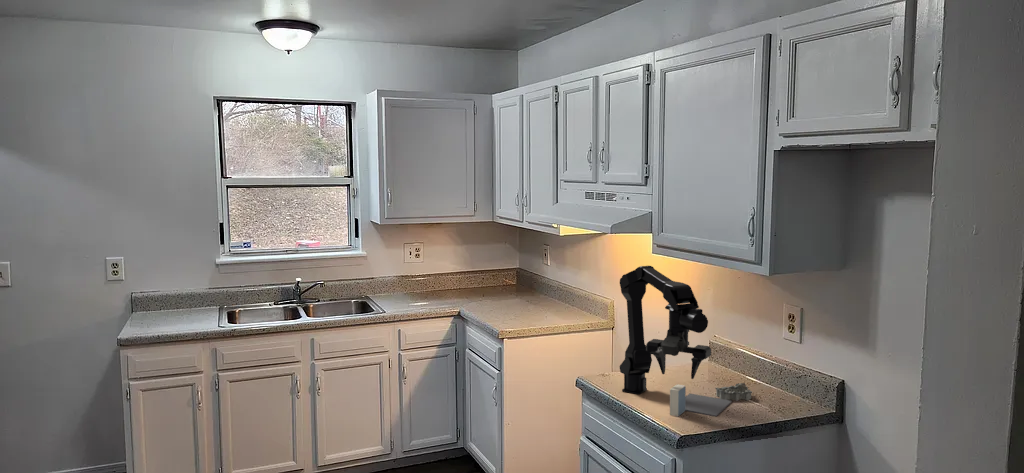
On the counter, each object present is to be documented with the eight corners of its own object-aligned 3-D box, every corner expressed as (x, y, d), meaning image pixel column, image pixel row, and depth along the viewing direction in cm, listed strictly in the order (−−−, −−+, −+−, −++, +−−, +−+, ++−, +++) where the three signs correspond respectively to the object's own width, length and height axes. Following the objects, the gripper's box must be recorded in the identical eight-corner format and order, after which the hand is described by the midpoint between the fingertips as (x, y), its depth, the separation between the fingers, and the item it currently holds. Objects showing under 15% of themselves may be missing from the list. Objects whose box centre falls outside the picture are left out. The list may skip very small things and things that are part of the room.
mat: (671, 408, 221) (671, 407, 221) (689, 394, 234) (689, 393, 234) (716, 416, 213) (716, 415, 213) (732, 401, 226) (732, 400, 226)
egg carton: (746, 394, 235) (746, 382, 235) (753, 401, 227) (754, 389, 227) (713, 394, 235) (714, 382, 235) (720, 401, 227) (720, 389, 227)
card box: (669, 415, 215) (670, 389, 214) (676, 409, 220) (677, 384, 219) (678, 416, 214) (678, 390, 213) (685, 411, 219) (685, 385, 218)
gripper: (638, 327, 213) (638, 378, 214) (699, 335, 202) (698, 388, 204) (653, 320, 222) (652, 369, 224) (712, 327, 212) (711, 378, 213)
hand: (677, 376), depth 216 cm, fingers open, 9 cm apart
